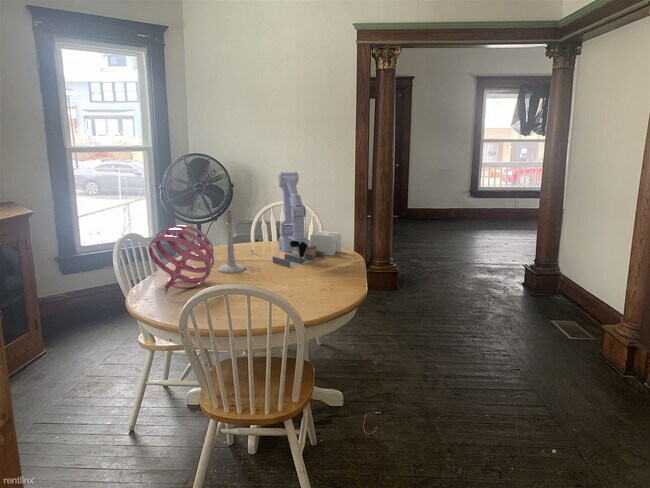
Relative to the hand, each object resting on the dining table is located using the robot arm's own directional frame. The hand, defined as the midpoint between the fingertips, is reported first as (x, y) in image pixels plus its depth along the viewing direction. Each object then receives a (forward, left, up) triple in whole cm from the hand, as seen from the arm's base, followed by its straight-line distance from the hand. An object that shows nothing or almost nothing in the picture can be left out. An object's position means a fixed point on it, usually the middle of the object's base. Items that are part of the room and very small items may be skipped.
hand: (298, 255), depth 257 cm
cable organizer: (-2, +21, -3) cm, 22 cm away
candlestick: (-13, -33, -3) cm, 35 cm away
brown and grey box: (0, +8, -2) cm, 8 cm away
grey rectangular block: (0, 0, -1) cm, 1 cm away
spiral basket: (-8, -60, -3) cm, 61 cm away
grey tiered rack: (0, 0, -3) cm, 3 cm away
